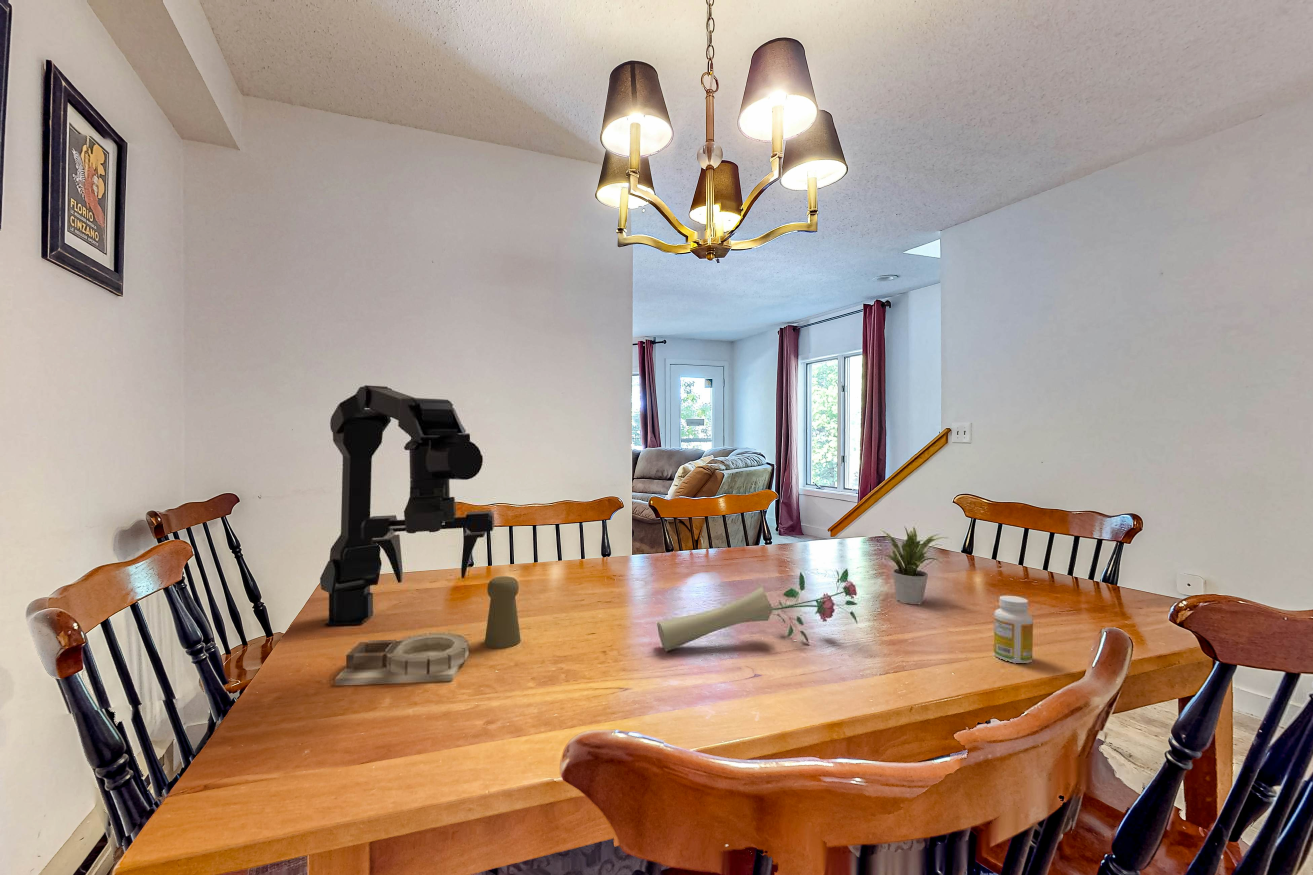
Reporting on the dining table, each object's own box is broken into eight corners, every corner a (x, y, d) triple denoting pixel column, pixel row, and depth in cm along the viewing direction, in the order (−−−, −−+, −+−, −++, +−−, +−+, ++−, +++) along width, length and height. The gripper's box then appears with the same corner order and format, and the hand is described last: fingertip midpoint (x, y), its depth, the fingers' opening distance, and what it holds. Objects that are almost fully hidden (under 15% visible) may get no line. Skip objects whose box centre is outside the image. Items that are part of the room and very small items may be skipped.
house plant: (964, 613, 117) (965, 533, 117) (895, 612, 117) (896, 532, 117) (931, 593, 132) (932, 521, 131) (870, 592, 132) (871, 521, 132)
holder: (334, 685, 82) (334, 664, 82) (366, 652, 94) (366, 634, 94) (458, 680, 84) (458, 659, 84) (474, 649, 96) (474, 631, 96)
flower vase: (668, 685, 100) (843, 624, 109) (685, 695, 88) (879, 626, 97) (650, 616, 103) (822, 563, 112) (664, 617, 91) (855, 557, 100)
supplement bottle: (1027, 654, 96) (1028, 595, 96) (1036, 666, 91) (1037, 605, 91) (990, 649, 98) (991, 592, 98) (997, 661, 93) (998, 601, 93)
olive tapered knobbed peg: (511, 649, 96) (511, 583, 96) (477, 646, 97) (478, 581, 97) (526, 637, 102) (527, 574, 101) (494, 634, 103) (495, 572, 103)
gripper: (348, 484, 80) (351, 597, 80) (489, 479, 85) (491, 586, 84) (369, 480, 91) (371, 580, 91) (493, 476, 95) (495, 571, 95)
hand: (432, 579), depth 90 cm, fingers open, 9 cm apart
